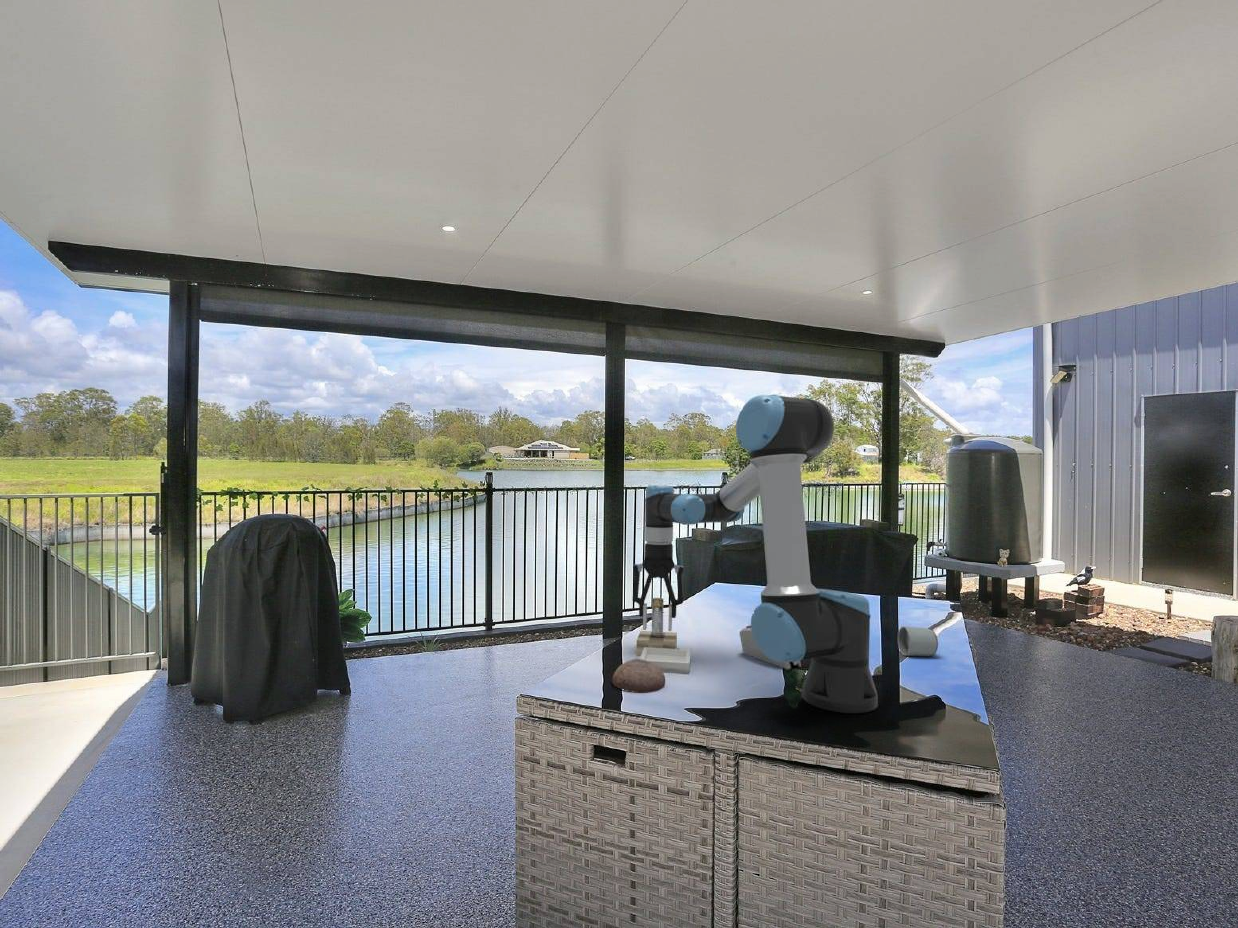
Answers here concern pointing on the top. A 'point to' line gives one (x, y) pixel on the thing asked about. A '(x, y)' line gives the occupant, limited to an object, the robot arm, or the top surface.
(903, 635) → the grey hollow cylinder
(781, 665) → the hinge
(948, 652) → the top surface
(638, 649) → the socket block
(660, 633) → the pin
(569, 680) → the top surface
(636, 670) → the decorative stone
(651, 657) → the tray
